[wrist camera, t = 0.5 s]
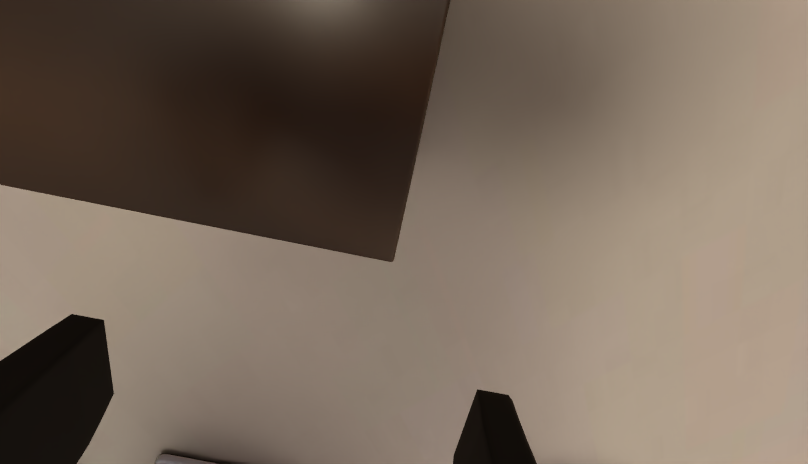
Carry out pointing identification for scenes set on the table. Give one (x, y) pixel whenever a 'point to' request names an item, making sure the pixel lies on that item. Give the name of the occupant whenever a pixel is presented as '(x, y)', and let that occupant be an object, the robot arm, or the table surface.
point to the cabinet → (224, 110)
